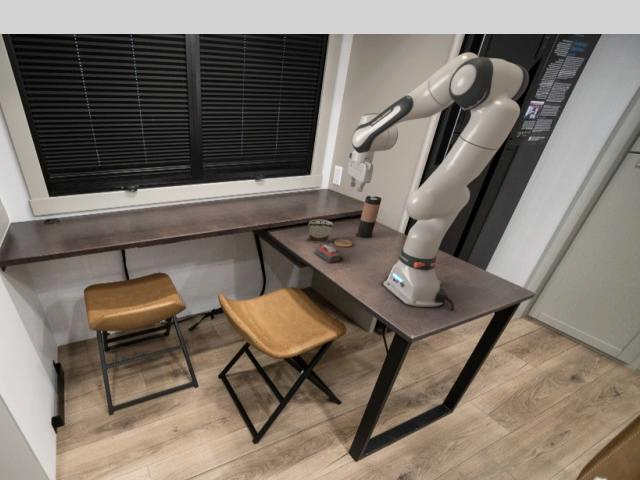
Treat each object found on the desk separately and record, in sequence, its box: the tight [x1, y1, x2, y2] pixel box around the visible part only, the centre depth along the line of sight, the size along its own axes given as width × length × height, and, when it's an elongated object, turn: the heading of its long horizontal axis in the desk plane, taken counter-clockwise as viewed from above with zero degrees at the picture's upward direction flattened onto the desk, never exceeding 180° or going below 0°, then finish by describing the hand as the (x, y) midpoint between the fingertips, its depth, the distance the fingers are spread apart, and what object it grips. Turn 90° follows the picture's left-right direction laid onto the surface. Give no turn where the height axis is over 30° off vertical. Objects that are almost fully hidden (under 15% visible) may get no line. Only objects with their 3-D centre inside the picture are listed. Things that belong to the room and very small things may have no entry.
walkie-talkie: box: [315, 242, 344, 263], centre depth 145 cm, size 9×4×20 cm
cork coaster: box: [333, 238, 353, 248], centre depth 157 cm, size 9×9×1 cm
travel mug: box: [357, 195, 382, 239], centre depth 161 cm, size 8×8×20 cm
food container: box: [307, 218, 334, 244], centre depth 158 cm, size 12×6×10 cm, turn 85°
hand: (356, 189), depth 143 cm, fingers open, 8 cm apart
